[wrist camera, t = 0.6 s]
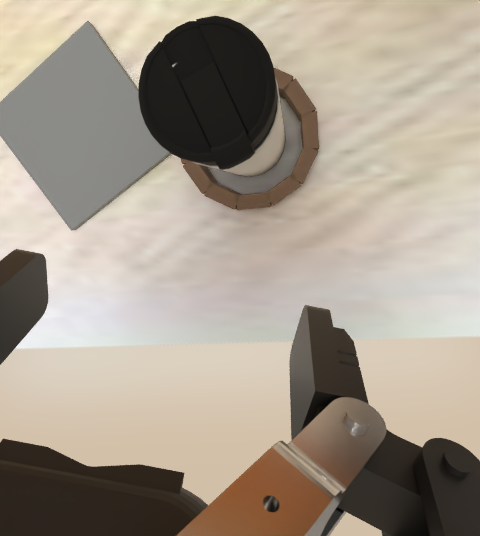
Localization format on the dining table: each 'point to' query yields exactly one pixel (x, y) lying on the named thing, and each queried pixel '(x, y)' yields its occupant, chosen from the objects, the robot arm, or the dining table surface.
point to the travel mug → (214, 97)
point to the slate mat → (79, 128)
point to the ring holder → (310, 146)
